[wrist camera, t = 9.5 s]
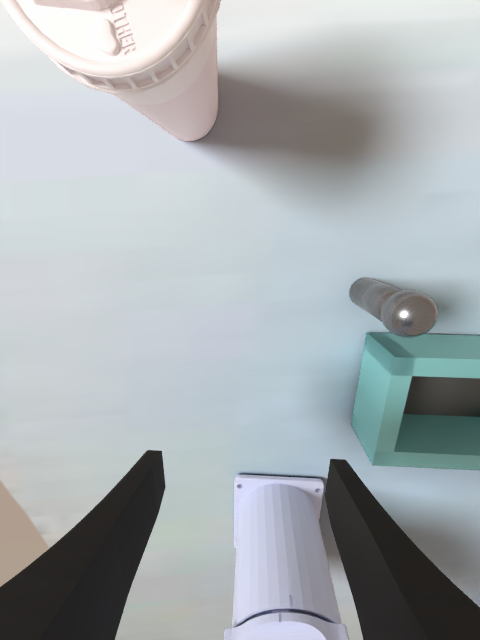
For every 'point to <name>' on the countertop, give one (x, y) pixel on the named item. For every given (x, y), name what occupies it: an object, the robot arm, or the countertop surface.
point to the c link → (391, 393)
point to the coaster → (443, 396)
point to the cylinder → (395, 307)
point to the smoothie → (135, 53)
